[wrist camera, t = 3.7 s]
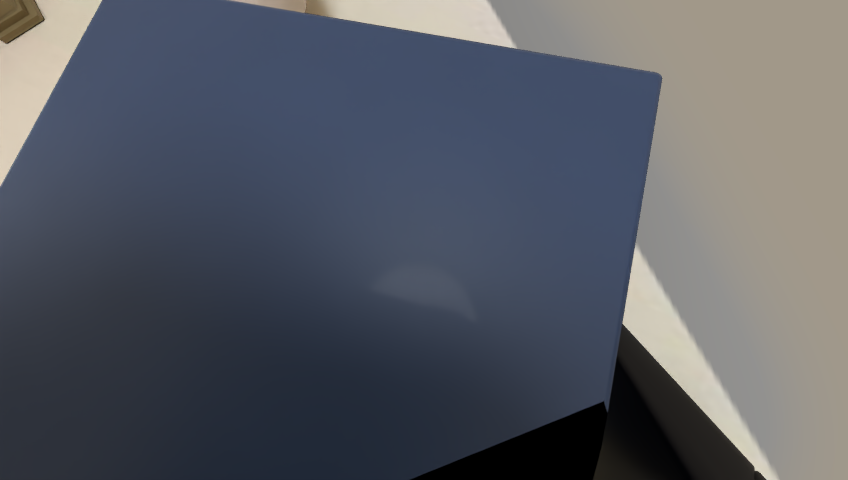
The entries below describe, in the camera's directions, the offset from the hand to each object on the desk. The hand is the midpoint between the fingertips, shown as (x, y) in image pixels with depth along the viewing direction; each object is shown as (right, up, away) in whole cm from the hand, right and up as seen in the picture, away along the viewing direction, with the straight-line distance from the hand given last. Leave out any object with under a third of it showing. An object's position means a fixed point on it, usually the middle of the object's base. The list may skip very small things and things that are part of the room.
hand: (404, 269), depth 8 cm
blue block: (0, -2, +7) cm, 7 cm away
